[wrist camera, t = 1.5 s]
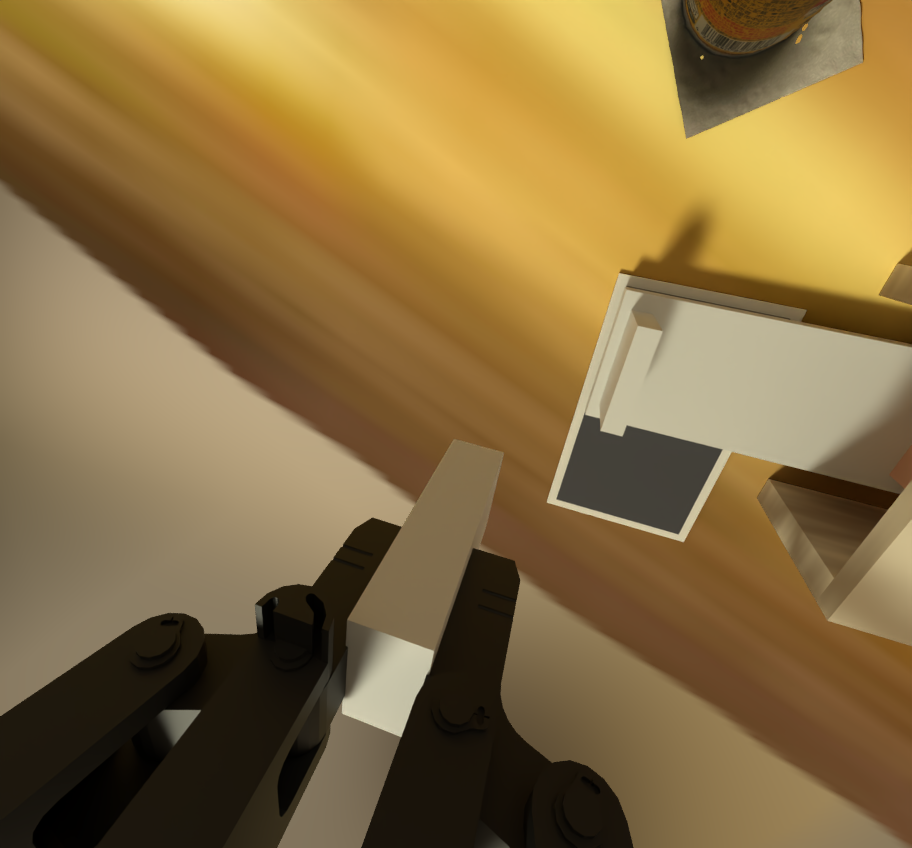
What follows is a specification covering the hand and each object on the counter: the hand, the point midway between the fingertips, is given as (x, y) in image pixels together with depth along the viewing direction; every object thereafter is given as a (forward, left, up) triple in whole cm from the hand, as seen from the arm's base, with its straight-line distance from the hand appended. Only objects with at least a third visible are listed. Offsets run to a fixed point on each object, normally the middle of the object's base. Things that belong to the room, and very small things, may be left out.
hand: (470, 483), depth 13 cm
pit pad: (+4, +9, -18) cm, 21 cm away
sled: (0, +17, -18) cm, 24 cm away
